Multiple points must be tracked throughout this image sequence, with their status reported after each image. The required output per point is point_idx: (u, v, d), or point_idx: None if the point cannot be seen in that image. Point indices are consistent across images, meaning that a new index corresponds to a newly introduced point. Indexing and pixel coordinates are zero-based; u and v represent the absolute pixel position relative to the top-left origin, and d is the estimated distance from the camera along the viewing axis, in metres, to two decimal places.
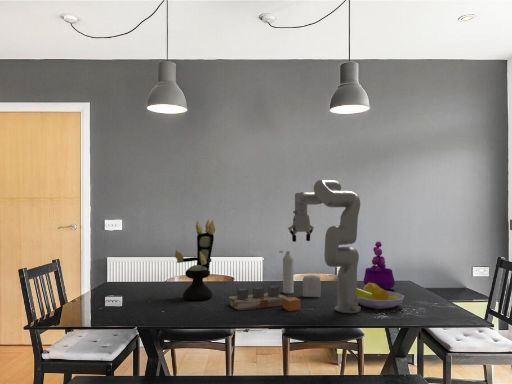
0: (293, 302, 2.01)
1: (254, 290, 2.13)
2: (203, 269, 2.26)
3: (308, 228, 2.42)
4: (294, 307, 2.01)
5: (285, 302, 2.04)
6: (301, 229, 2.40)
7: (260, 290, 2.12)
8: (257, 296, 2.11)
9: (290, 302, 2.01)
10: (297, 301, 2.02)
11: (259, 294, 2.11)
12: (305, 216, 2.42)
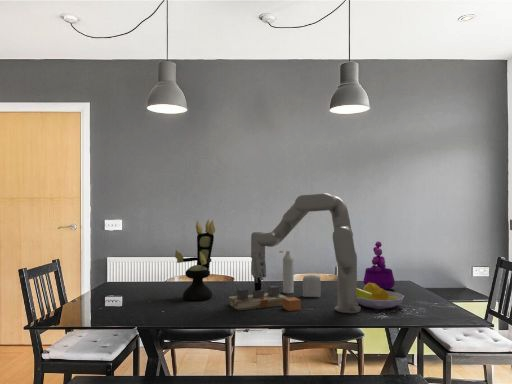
0: (293, 302, 2.01)
1: (254, 292, 2.13)
2: (203, 269, 2.26)
3: None
4: (294, 307, 2.01)
5: (285, 302, 2.04)
6: None
7: (260, 292, 2.12)
8: None
9: (290, 302, 2.01)
10: (297, 301, 2.02)
11: (259, 296, 2.11)
12: None
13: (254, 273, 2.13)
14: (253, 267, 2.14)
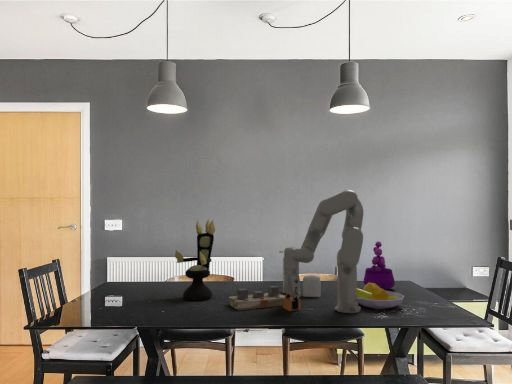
0: None
1: (254, 294, 2.13)
2: (203, 269, 2.26)
3: None
4: None
5: (285, 302, 2.04)
6: None
7: (260, 294, 2.12)
8: None
9: (290, 302, 2.01)
10: None
11: (259, 297, 2.11)
12: None
13: (288, 291, 2.03)
14: (287, 284, 2.04)
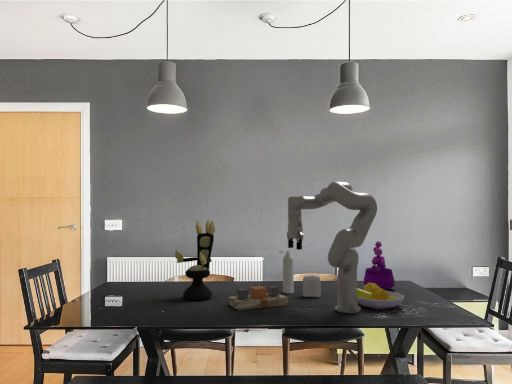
0: (259, 290, 2.10)
1: None
2: (203, 269, 2.26)
3: None
4: (260, 296, 2.10)
5: (252, 290, 2.13)
6: None
7: None
8: None
9: (256, 290, 2.10)
10: (263, 289, 2.11)
11: None
12: None
13: (291, 235, 2.26)
14: (290, 229, 2.27)
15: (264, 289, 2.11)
